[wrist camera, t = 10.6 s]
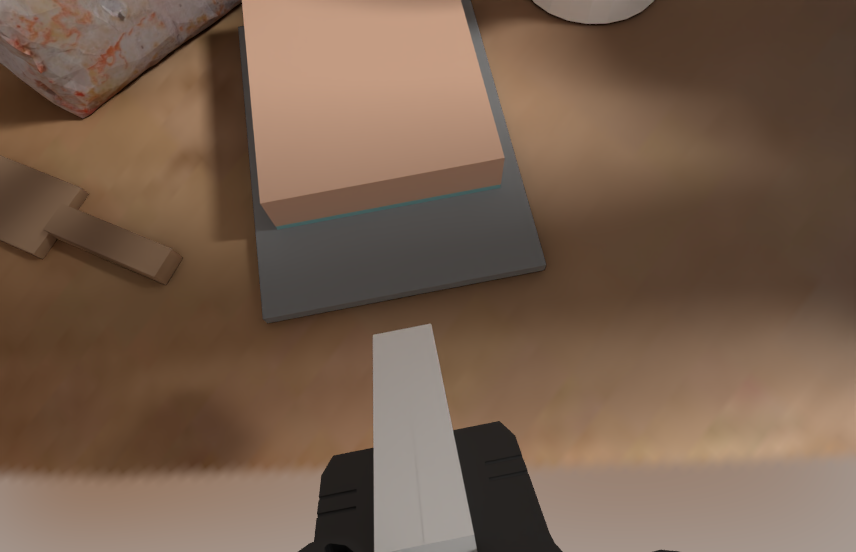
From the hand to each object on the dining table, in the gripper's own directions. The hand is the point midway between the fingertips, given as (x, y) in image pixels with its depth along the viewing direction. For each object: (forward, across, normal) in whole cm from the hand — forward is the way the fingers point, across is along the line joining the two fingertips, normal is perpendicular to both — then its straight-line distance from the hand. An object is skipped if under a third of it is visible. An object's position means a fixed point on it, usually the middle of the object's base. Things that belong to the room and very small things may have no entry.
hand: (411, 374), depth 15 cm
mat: (+15, 0, +3) cm, 15 cm away
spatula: (+14, -14, +2) cm, 20 cm away
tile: (+11, 0, +2) cm, 11 cm away
